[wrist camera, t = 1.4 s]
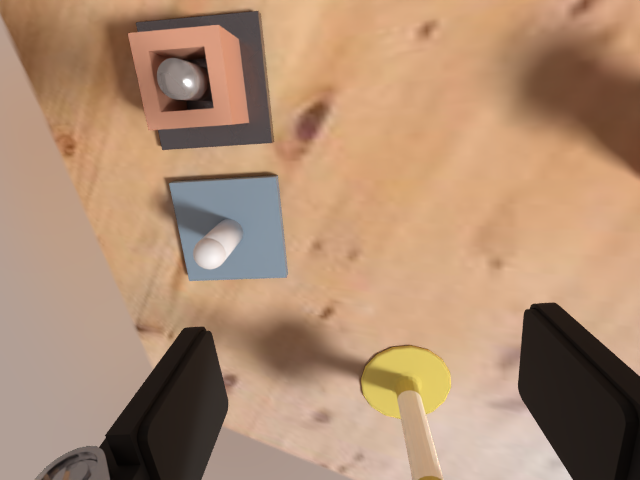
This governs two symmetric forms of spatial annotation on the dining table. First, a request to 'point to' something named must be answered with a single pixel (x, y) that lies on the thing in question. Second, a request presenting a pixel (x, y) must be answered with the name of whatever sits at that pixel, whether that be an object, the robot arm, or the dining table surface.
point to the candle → (409, 399)
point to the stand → (195, 88)
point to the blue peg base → (231, 227)
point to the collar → (189, 46)
